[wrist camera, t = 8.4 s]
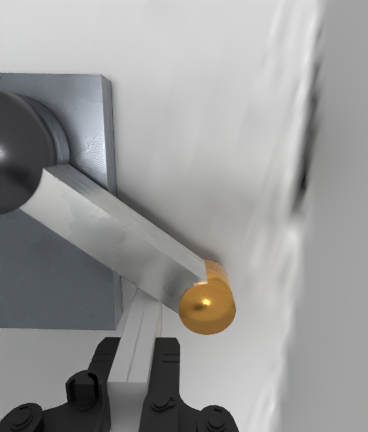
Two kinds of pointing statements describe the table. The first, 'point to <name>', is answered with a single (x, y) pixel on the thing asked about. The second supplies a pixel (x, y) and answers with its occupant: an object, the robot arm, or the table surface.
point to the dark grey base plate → (48, 239)
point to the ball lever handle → (102, 219)
